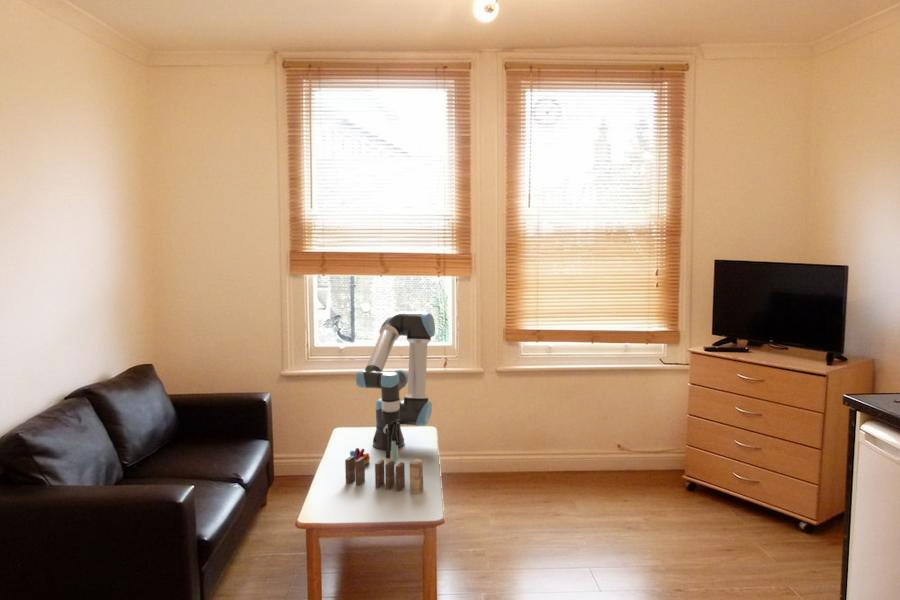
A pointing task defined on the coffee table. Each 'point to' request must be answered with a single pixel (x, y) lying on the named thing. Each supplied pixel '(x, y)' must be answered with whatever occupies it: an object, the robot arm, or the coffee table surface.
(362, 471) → the domino
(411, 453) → the coffee table surface
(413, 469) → the end block
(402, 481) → the domino
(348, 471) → the domino
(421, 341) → the robot arm
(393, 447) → the teal domino
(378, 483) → the domino
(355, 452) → the colorful disc cluster
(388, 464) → the domino
